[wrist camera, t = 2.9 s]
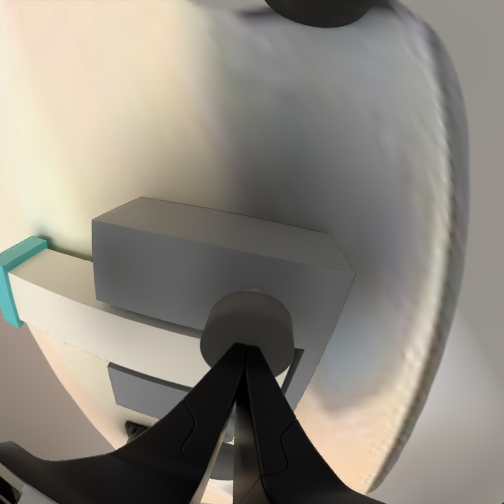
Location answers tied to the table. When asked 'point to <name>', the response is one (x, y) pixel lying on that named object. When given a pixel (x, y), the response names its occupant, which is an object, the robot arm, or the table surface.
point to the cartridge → (94, 316)
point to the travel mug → (322, 11)
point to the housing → (214, 283)
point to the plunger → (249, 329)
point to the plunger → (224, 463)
